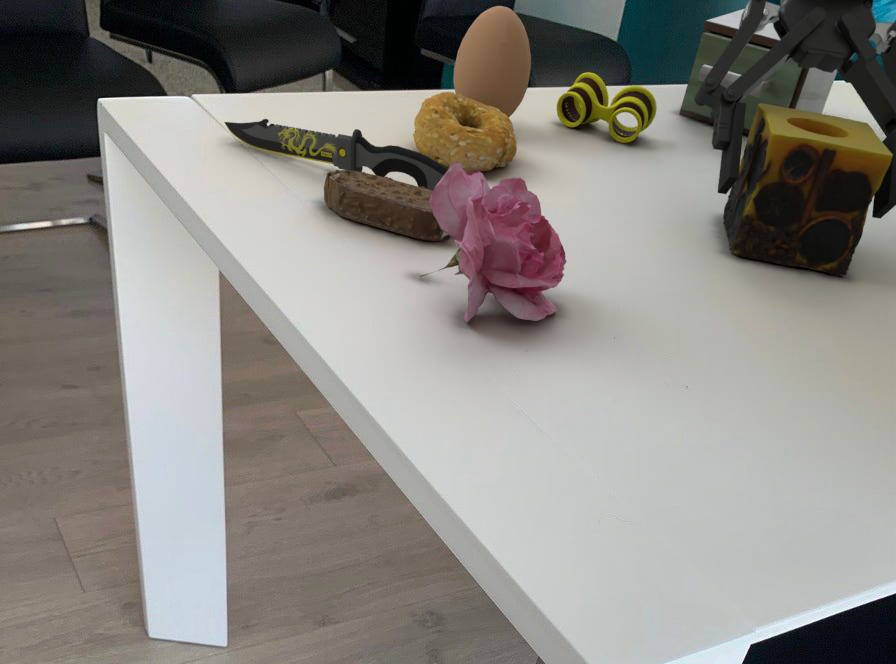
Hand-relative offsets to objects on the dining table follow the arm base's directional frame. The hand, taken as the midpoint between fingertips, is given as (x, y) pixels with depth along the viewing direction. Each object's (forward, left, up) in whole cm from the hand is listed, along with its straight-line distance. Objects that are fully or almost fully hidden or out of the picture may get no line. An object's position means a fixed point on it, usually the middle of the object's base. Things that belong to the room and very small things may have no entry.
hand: (806, 198), depth 86 cm
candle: (+1, -2, -5) cm, 6 cm away
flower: (+13, +29, -5) cm, 32 cm away
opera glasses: (+27, -19, -5) cm, 33 cm away
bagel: (+31, +3, -5) cm, 32 cm away
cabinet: (+17, -43, -5) cm, 47 cm away
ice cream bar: (+25, +22, -5) cm, 34 cm away
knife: (+36, +17, -5) cm, 40 cm away
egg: (+35, -8, -5) cm, 36 cm away
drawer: (+17, -38, -4) cm, 42 cm away
